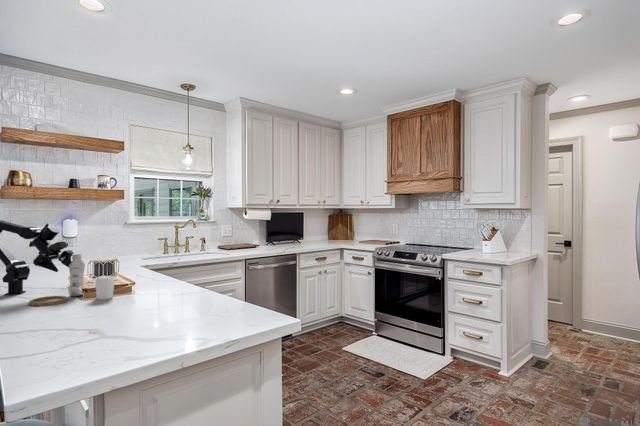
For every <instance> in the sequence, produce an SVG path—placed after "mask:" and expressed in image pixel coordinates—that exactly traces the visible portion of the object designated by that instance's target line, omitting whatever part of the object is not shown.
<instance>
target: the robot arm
mask: <svg viewBox="0 0 640 426" xmlns="http://www.w3.org/2000/svg"><path fill="white" fill-rule="evenodd" d="M3 231H4V232H9V233H11V234H12V233H13V234H16V235H18V236H19V237H21V238H22V239H24V240H32V241H29V244H28V246H29V248H32V247H35V248H36V249H37V251H38V253H37V254H38V255H37V256H36V257H35V258H34V259H33V260H32V261H33V265H34V266H35V267H40V268H44V269H47V270H50V271H52V272H55V273H58V272H59V269H58V267H57V266H56V265H55V264H54V263H53V260H58V261H59V262H60V264H62V265H63V266H65V267H67V268H69V265H70V263H71V262H72V255H75V253H74V252H73V250H71V249H68V250H63V249H67V248H68V246H69V242H67V241H66V240H61V241H57V242H55V243H51V242H50V241H53V240H54V239H55V238H56V237H57V235H59V234H60V233H61V229H60V228H59V227H58V226H56V225H54V224H52V223H46V224H45V225H44V226H43V228H41V227H38V226H24V225H19V224H16V223H12V222H9V221H6V220H0V234H2V233H3ZM62 250H63V251H62ZM0 261H1V262H2V263H3V265H4V266H5V273H6V274H5V275H4V276H3V277H2V283H7V292H5V293H4V295H5V296H7V295H8V296H9V295H21V294H24V293H26V291H27V290H24V281H27V280H28V278H29V275H30V273H31V269H30V266H29V265H28V264H27V262H26V261H25V260H20V261H19V260H18V259H17V258H16V257H15V256H14V254H12V252H11V251H10V250H9V249H8V248H7V246H6V245H5V244H4V243H3V242H2V240H0Z"/></svg>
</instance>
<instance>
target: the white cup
mask: <svg viewBox="0 0 640 426" xmlns="http://www.w3.org/2000/svg"><path fill="white" fill-rule="evenodd" d="M94 281H95V293H96V296H95V297H96V300H101V301H102V300H103V301H104V300H109V299H112V298H113V297H114V291H115V290H114V289H115V276H114V275H100V276H95V279H94Z"/></svg>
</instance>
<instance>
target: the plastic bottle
mask: <svg viewBox="0 0 640 426" xmlns="http://www.w3.org/2000/svg"><path fill="white" fill-rule="evenodd" d="M82 258H83V257H82V254H73V255H72V256H71V263H70V265H69V267H68V271H69V287H68V290H67V291H68V295H69V297H71V296H72V297H79V296H83V295H84V294H83V293H82V291H81V290H80V289H79V287H80V286H82V285H84V274H85V267H86V264H85V262H84V261H83V260H82ZM84 286H85V285H84Z"/></svg>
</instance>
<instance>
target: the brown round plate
mask: <svg viewBox="0 0 640 426" xmlns="http://www.w3.org/2000/svg"><path fill="white" fill-rule="evenodd" d="M68 301H69V299H68V296H65V295H50V296H42V297H36V298H32V299H30V300H29V302H28V303H27V304H28V305H27V306H30V307H48V306H57V305H61V304H65V303H66V302H68Z"/></svg>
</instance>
